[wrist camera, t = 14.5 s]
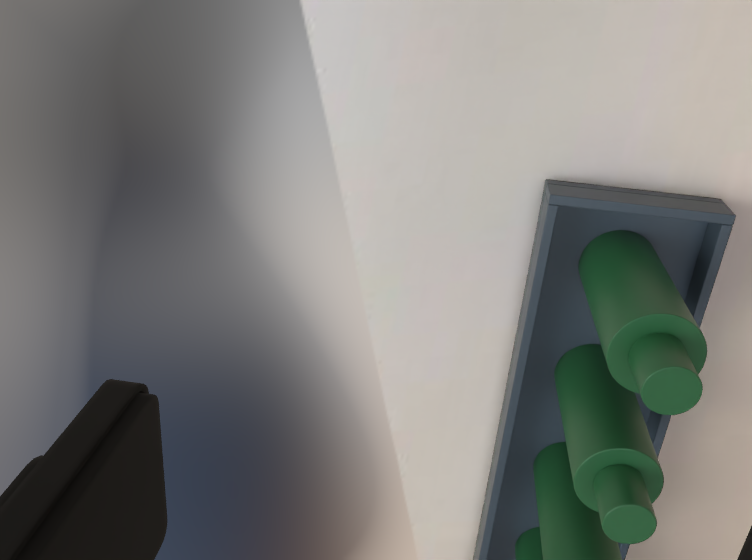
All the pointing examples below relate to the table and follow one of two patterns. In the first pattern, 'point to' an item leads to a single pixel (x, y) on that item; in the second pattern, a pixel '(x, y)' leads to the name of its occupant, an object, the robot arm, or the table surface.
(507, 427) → the tray
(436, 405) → the table surface
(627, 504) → the bottle
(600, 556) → the bottle
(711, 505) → the table surface
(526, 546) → the bottle
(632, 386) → the loose bottle
